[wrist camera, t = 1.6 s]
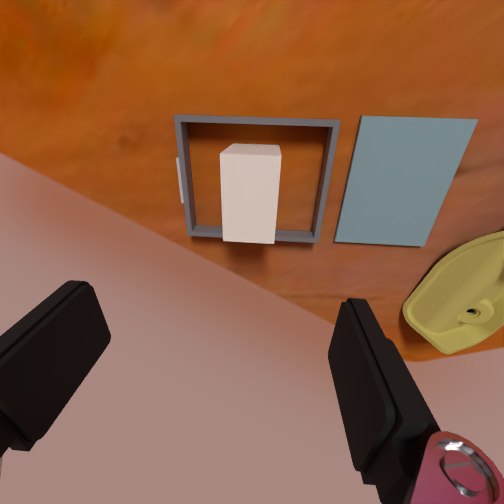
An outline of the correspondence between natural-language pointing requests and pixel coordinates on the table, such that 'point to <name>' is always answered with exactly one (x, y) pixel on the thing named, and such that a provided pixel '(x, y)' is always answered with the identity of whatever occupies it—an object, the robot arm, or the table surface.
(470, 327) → the plastic component
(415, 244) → the mat
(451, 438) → the robot arm
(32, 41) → the table surface
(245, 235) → the block
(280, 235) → the grey rectangular frame
